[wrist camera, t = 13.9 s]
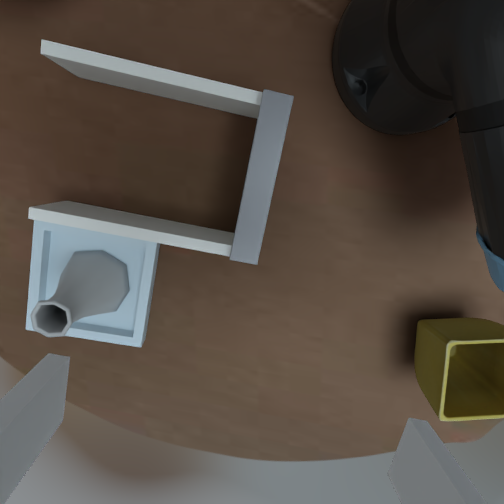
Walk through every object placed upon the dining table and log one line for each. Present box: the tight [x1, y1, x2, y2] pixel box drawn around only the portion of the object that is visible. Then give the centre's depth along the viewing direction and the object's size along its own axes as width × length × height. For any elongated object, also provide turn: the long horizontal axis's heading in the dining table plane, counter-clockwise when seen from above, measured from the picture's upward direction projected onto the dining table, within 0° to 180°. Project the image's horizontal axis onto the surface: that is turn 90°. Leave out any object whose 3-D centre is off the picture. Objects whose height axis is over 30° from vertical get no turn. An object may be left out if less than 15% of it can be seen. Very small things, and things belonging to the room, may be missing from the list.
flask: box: [30, 250, 130, 337], centre depth 33 cm, size 7×7×10 cm
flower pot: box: [414, 318, 504, 421], centre depth 38 cm, size 9×9×9 cm
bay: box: [28, 39, 294, 265], centre depth 32 cm, size 14×20×8 cm
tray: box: [26, 220, 160, 347], centre depth 37 cm, size 12×12×2 cm
